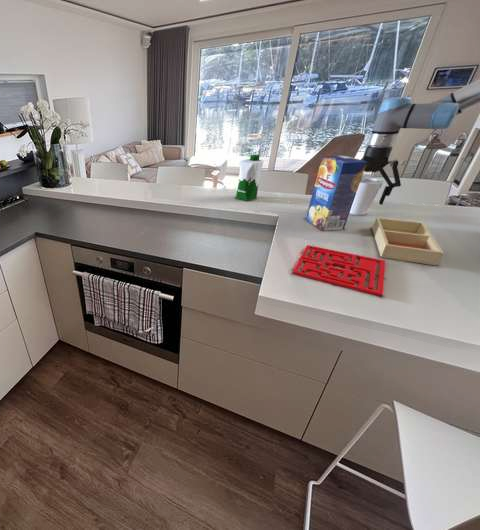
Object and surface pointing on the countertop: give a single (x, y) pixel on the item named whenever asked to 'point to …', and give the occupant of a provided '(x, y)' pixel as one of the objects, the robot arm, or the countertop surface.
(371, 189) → the foam cup
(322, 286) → the countertop surface
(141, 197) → the countertop surface
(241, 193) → the milk carton
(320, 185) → the juice carton
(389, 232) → the divided tray
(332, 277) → the maze puzzle
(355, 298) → the countertop surface
